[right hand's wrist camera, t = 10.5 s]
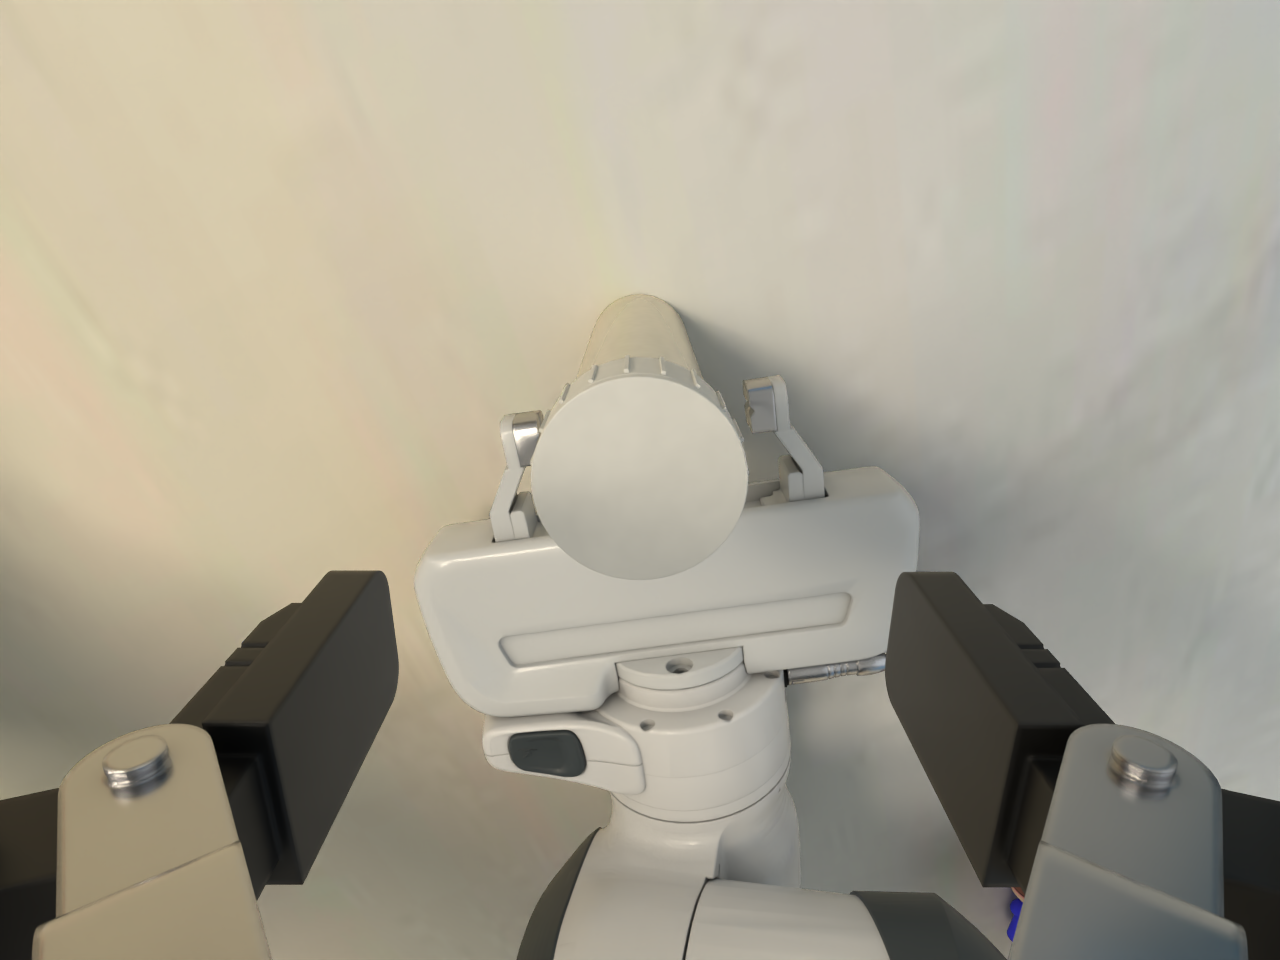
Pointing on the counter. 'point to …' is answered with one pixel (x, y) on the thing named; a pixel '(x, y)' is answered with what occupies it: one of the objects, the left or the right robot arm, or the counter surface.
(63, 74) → the counter surface
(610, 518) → the lid
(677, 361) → the beige canister
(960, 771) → the right robot arm
